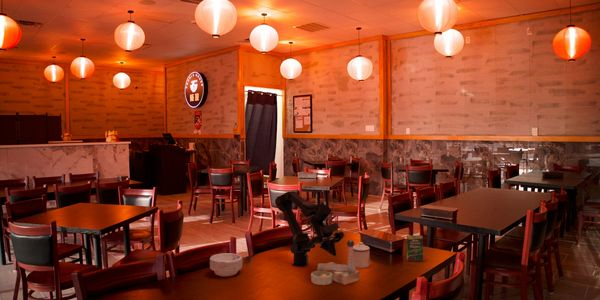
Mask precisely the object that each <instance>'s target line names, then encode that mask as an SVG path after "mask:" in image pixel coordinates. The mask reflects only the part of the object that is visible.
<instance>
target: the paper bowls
mask: <svg viewBox="0 0 600 300" xmlns="http://www.w3.org/2000/svg"><path fill="white" fill-rule="evenodd" d="M209 268H210V270H211V271H214V274H215V275H217V276H219V277H231V276H234V275H236V274H237V273H238V271H240V270H241V269H242V268H243V257H242V255H241V254H237V253H232V252H231V253H230V252H229V253H228V252H227V253H225V252H224V253H218V254H213V255H211V256H210V258H209Z"/></svg>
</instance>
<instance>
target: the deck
mask: <svg viewBox="0 0 600 300" xmlns="http://www.w3.org/2000/svg"><path fill="white" fill-rule="evenodd" d="M326 264H337V263H336V262H334V261H333V262H327V263H326ZM317 271H320V270H318V269H317ZM323 271H329V272H331V273H332V282H337V283H338V284H341V285H348V284H352V283H355V282H357V281H360V271H359V270H356V269H355V272H353V274H352V275H349V274H348V271H337V270H323Z"/></svg>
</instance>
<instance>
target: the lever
mask: <svg viewBox="0 0 600 300" xmlns="http://www.w3.org/2000/svg"><path fill="white" fill-rule="evenodd" d="M346 245H347V264H341V263H340V264H339V263H336V264H327V263H323V262H322V263H317V271H318V270H337V271H348V274H349V275H352V274H353V272H355V270H356V267H355V265H354V264H353V246H355V241H354V240H352V239H349V240H347V241H346Z"/></svg>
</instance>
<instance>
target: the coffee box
mask: <svg viewBox="0 0 600 300" xmlns="http://www.w3.org/2000/svg"><path fill="white" fill-rule="evenodd" d="M423 240H424V237H423V235H422V234H421V235H420V234H419V235H418V234H417V235H413V234H412V235H410V234H409V235H406V260H407V262H424V241H423Z"/></svg>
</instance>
